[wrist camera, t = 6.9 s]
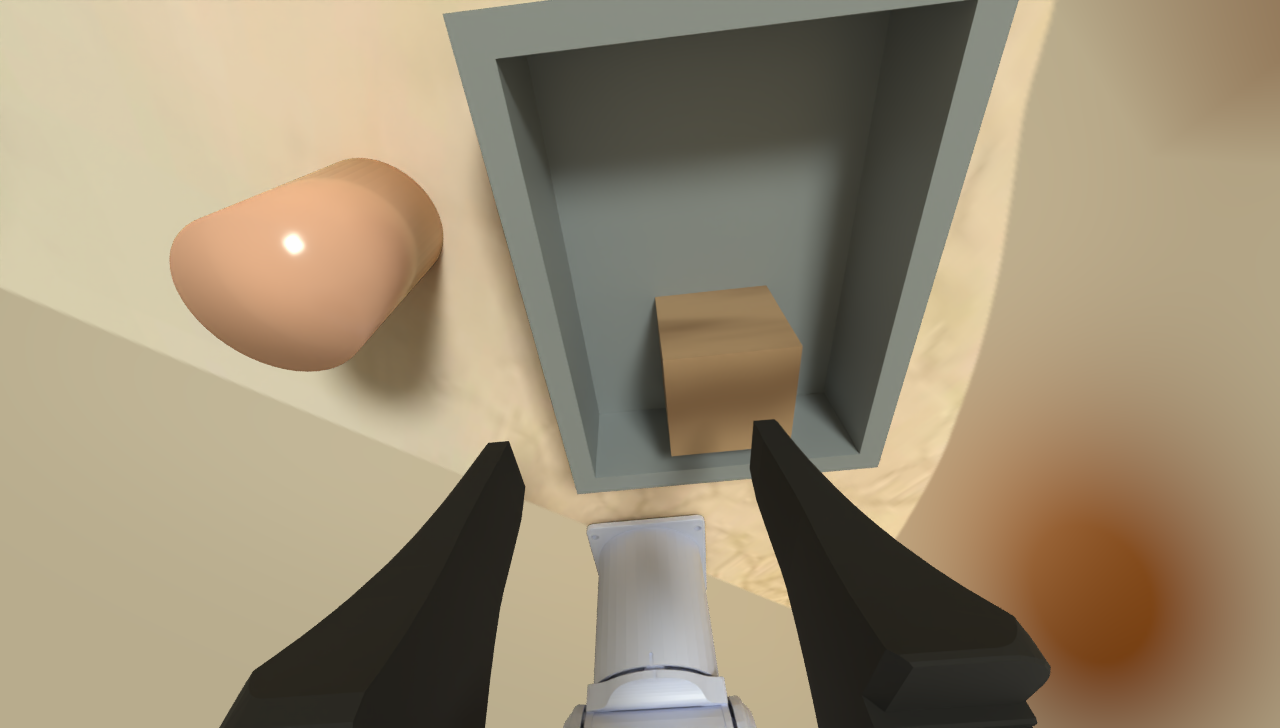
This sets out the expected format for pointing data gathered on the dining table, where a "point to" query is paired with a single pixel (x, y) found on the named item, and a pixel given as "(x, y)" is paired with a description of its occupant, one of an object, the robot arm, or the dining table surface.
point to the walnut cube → (725, 367)
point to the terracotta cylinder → (308, 263)
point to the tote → (725, 196)
